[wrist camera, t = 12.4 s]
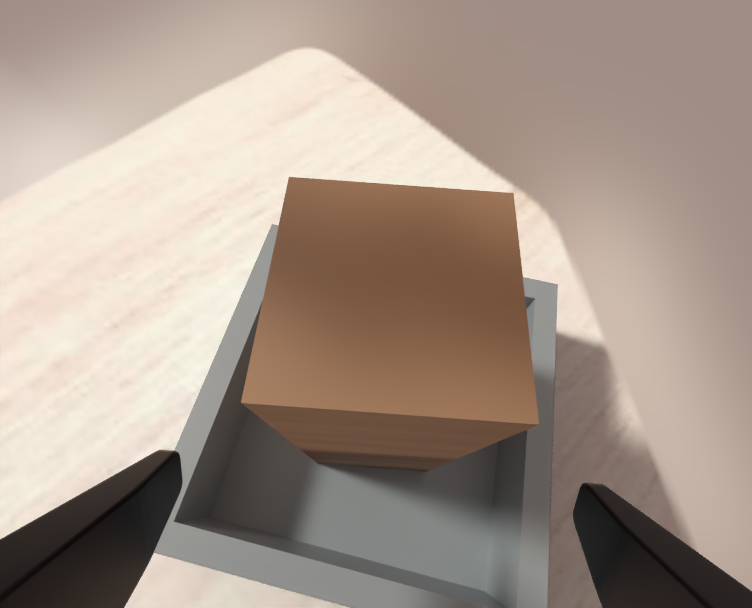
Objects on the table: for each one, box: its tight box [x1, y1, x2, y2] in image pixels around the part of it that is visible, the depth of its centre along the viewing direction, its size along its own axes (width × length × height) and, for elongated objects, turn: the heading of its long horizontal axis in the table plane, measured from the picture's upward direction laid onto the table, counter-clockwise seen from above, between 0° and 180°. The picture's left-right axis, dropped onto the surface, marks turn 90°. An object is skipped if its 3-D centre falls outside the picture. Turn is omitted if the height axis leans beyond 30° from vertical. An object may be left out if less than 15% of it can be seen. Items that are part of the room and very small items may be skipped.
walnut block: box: [241, 177, 539, 472], centre depth 14 cm, size 5×5×13 cm
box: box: [154, 224, 558, 608], centre depth 18 cm, size 14×14×4 cm
